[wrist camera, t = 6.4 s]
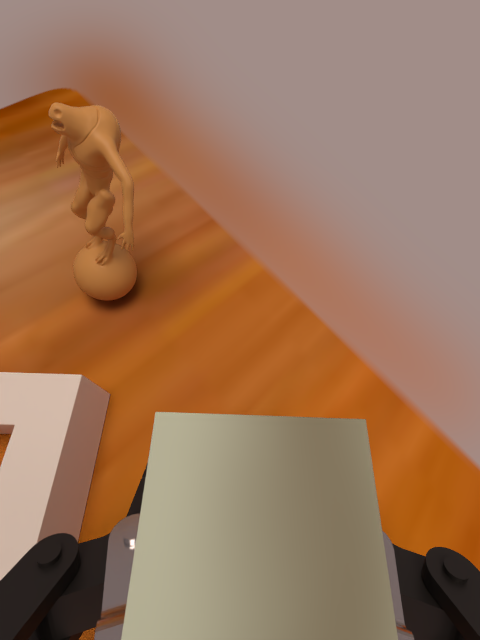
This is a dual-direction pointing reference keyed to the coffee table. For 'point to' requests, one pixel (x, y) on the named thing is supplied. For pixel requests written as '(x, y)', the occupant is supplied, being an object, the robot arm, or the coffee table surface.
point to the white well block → (46, 457)
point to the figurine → (98, 198)
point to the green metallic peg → (259, 532)
